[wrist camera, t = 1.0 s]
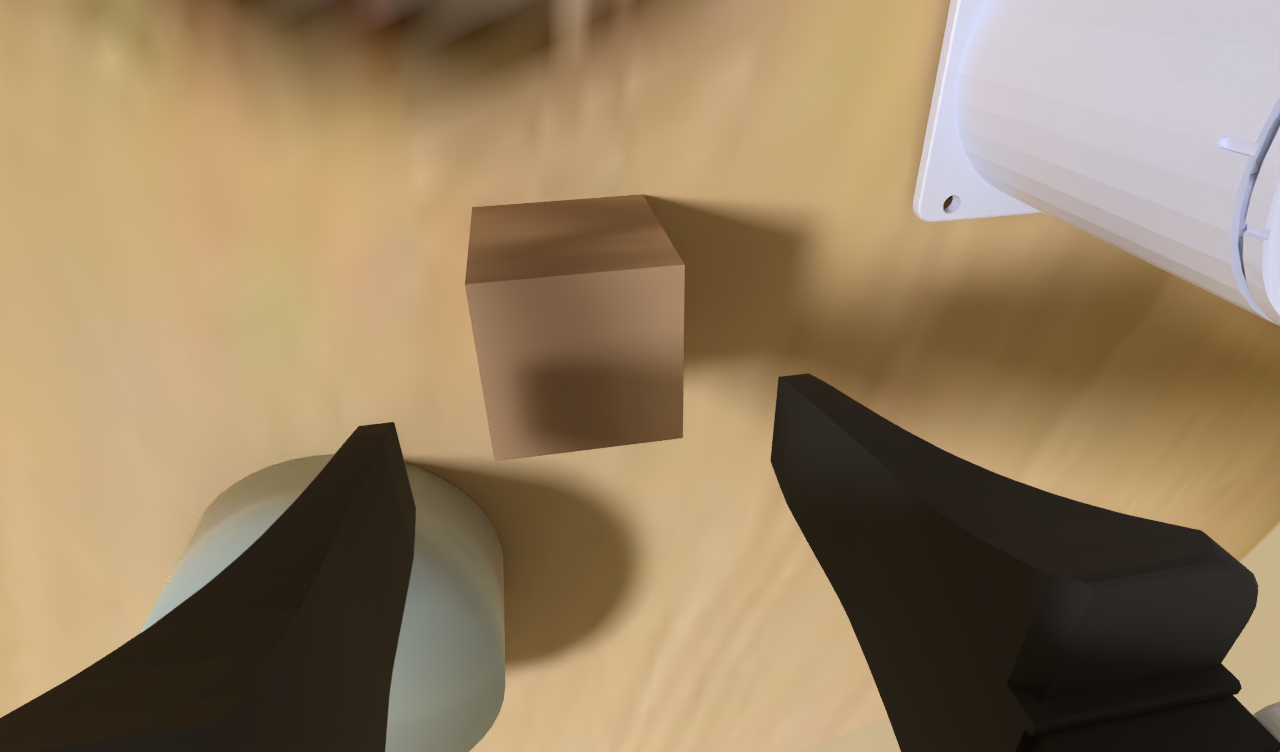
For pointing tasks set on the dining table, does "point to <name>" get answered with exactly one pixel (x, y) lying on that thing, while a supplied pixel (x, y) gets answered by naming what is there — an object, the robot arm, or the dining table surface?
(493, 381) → the walnut block
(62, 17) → the dining table surface
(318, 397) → the dining table surface
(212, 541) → the grey rounded dome
